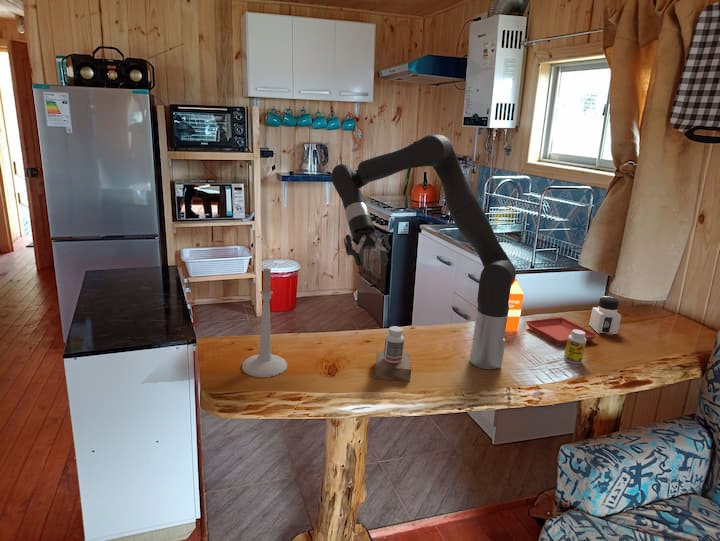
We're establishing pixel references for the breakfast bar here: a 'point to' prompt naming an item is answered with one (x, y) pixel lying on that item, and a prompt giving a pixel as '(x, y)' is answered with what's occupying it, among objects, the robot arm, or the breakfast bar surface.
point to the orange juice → (514, 306)
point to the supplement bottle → (575, 347)
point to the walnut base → (393, 368)
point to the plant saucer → (557, 329)
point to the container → (606, 316)
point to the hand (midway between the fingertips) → (373, 265)
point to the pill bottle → (394, 345)
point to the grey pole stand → (265, 341)
